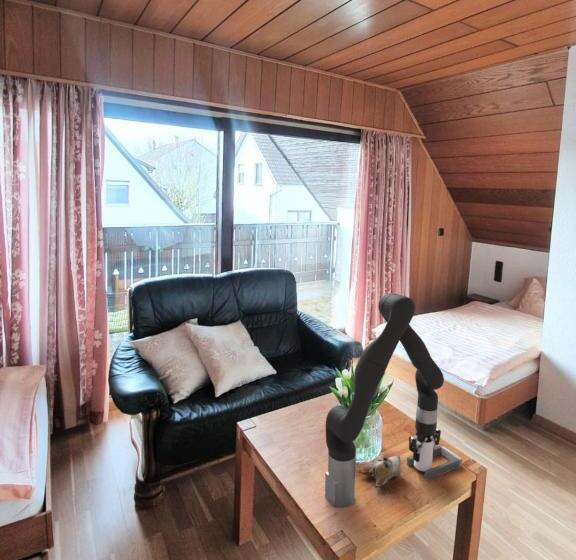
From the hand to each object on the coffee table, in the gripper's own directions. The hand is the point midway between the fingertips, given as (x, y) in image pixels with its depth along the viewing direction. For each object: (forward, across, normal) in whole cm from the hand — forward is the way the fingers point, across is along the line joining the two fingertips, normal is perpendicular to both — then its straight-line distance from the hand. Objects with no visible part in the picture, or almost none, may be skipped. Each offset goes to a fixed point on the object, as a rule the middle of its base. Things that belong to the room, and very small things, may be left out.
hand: (423, 457), depth 163 cm
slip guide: (+5, +6, 0) cm, 8 cm away
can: (+4, 0, 0) cm, 4 cm away
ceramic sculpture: (+5, -16, +3) cm, 18 cm away
